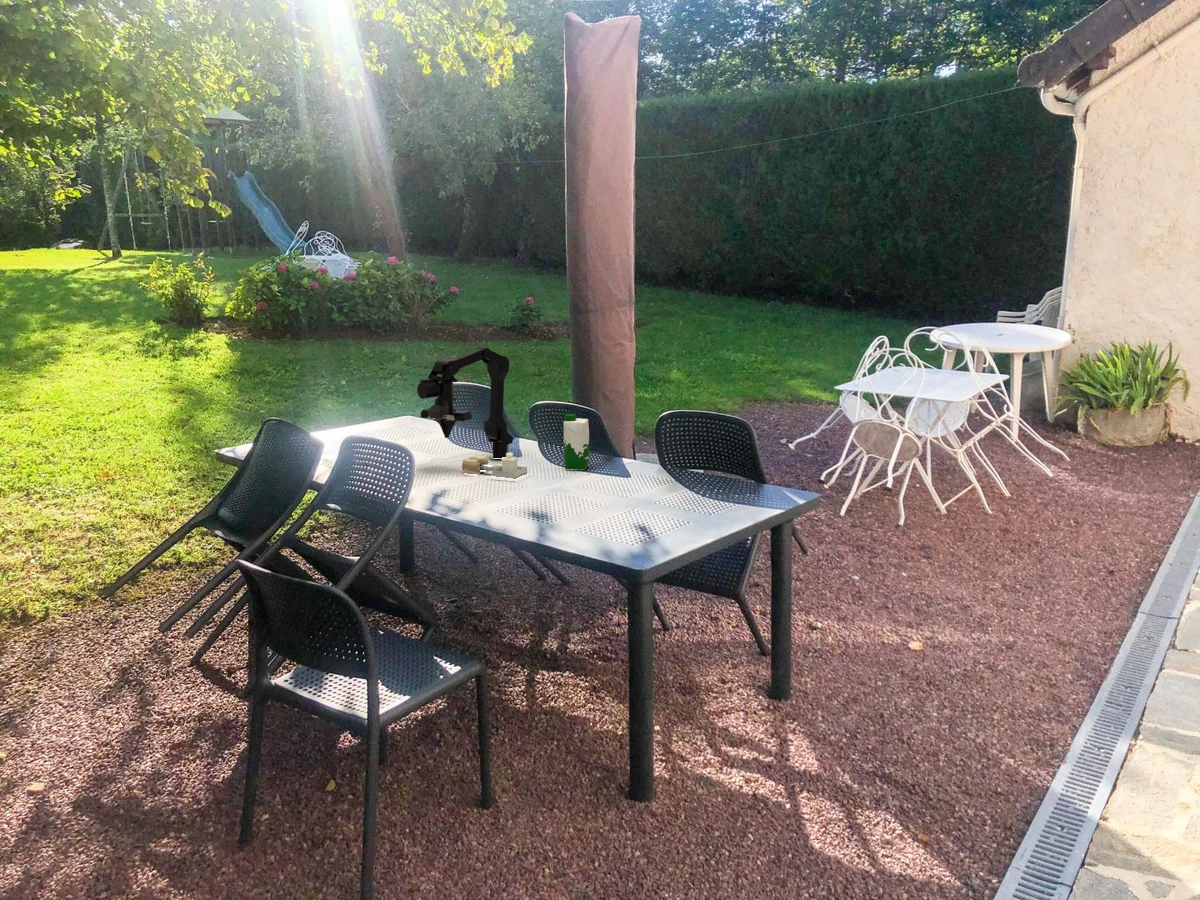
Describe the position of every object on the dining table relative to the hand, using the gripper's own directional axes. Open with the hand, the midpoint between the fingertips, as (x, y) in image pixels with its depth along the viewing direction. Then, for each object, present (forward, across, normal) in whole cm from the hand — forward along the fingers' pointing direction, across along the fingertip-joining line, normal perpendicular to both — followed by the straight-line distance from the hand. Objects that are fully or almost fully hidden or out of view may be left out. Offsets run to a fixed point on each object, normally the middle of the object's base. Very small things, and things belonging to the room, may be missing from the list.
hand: (446, 437), depth 345 cm
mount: (+12, +12, 0) cm, 17 cm away
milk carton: (+12, +42, +21) cm, 49 cm away
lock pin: (+12, +15, 0) cm, 19 cm away
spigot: (+11, +26, 0) cm, 28 cm away
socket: (+12, +26, 0) cm, 29 cm away
